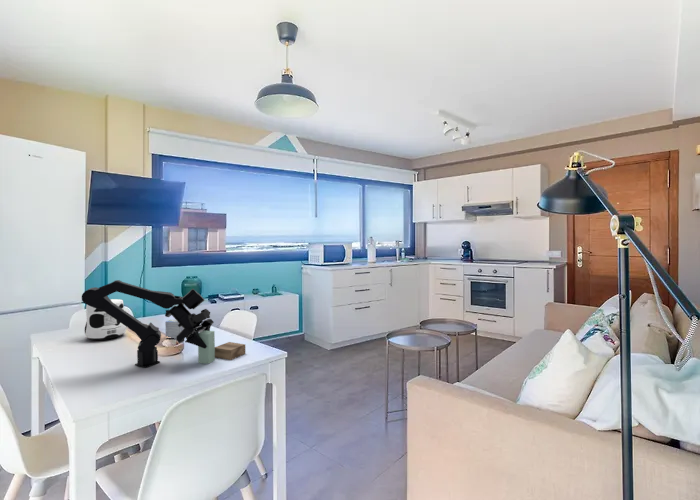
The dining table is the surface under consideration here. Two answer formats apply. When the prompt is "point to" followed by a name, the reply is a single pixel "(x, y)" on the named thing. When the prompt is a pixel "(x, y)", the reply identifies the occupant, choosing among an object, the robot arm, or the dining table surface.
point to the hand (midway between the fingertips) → (209, 345)
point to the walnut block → (229, 350)
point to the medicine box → (172, 328)
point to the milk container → (103, 323)
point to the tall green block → (209, 352)
